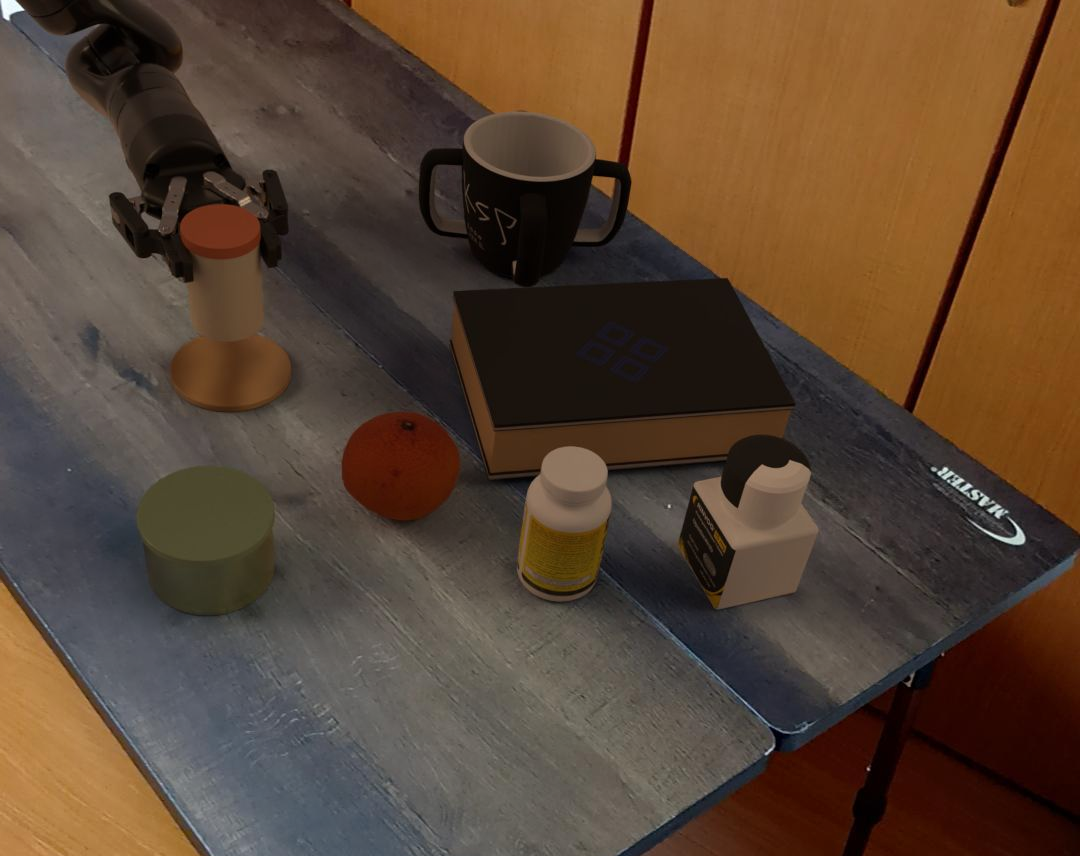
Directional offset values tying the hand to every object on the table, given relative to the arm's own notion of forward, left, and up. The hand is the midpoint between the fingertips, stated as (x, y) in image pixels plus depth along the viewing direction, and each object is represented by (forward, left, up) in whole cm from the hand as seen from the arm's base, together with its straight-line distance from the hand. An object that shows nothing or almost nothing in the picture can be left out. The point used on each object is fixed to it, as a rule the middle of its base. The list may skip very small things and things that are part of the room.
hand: (231, 265), depth 101 cm
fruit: (+11, -15, -13) cm, 22 cm away
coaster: (0, +2, -12) cm, 13 cm away
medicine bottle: (+35, -27, -13) cm, 45 cm away
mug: (+29, +16, -13) cm, 35 cm away
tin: (-4, -20, -12) cm, 24 cm away
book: (+31, -7, -13) cm, 34 cm away
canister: (0, +2, -7) cm, 7 cm away
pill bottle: (+21, -25, -13) cm, 35 cm away
